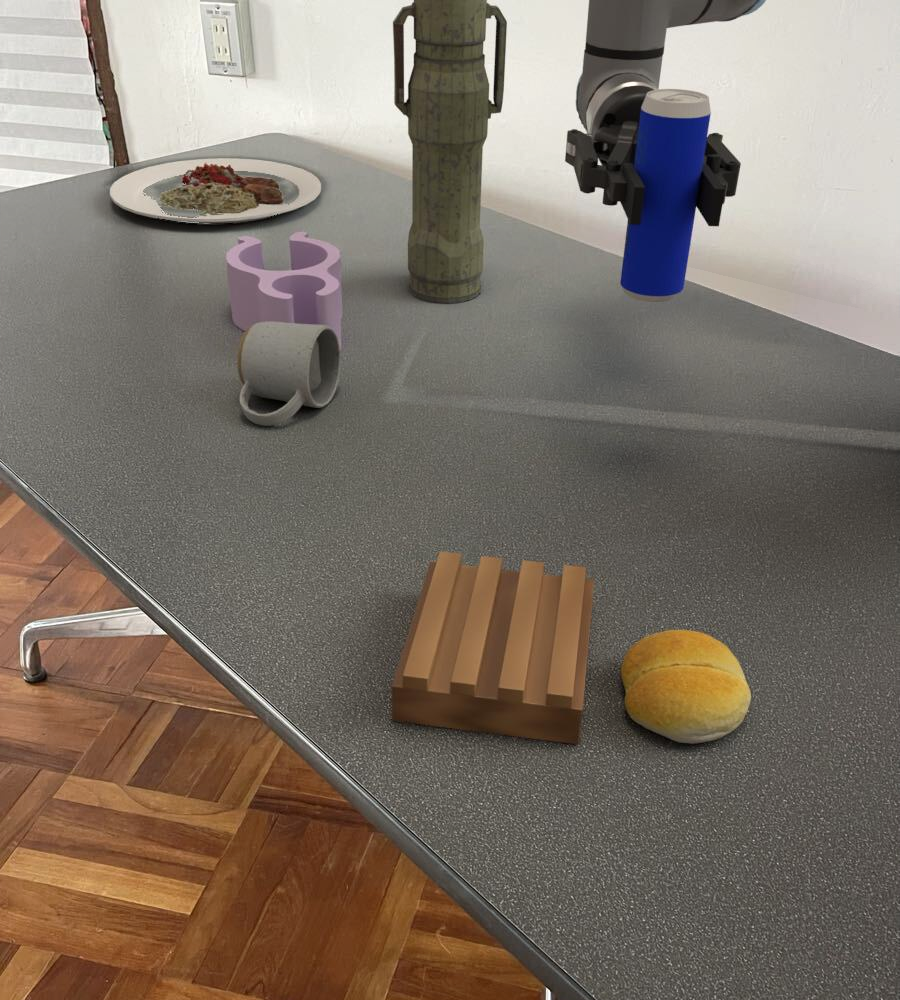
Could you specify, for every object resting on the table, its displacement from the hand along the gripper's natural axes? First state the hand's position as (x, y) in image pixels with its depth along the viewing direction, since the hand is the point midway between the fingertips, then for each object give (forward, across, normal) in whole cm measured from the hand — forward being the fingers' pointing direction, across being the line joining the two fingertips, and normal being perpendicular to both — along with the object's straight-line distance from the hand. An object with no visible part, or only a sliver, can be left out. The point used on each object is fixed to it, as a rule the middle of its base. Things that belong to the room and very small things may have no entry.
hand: (677, 206), depth 79 cm
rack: (+24, +13, -24) cm, 36 cm away
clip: (-34, +34, -24) cm, 54 cm away
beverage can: (-5, 0, -9) cm, 10 cm away
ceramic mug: (-15, +32, -24) cm, 43 cm away
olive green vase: (-45, +17, -24) cm, 54 cm away
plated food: (-79, +49, -24) cm, 96 cm away
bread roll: (+28, +1, -24) cm, 37 cm away
